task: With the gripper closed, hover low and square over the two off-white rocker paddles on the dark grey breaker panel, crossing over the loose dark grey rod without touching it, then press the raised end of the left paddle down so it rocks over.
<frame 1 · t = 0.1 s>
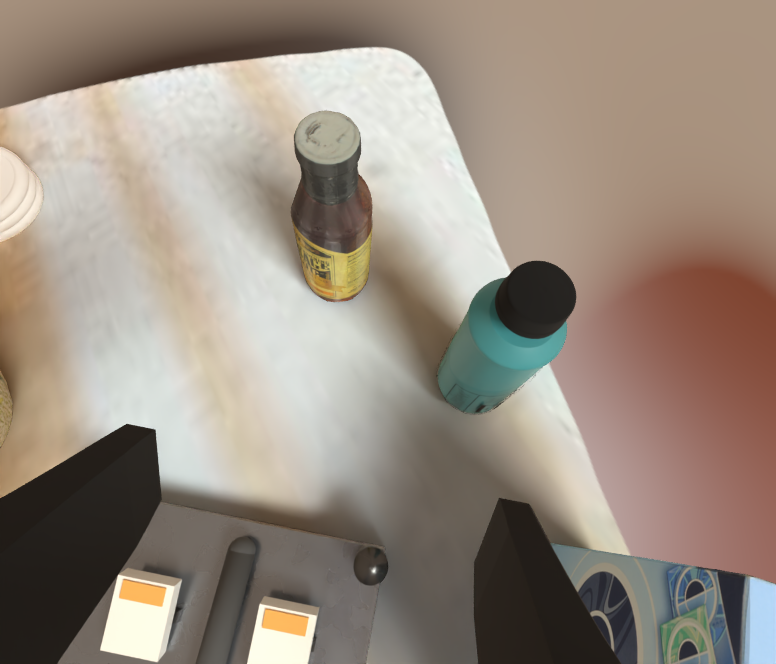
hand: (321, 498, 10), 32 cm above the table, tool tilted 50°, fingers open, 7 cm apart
sauce bottle: (338, 279, 47), on the table
paddle 2: (141, 614, 33), point 4 cm above the table, hinge at -15.0°
dark grey rod: (220, 641, 34), point 3 cm above the table, touching panel
beverage bottle: (467, 383, 44), on the table
panel: (227, 616, 37), on the table
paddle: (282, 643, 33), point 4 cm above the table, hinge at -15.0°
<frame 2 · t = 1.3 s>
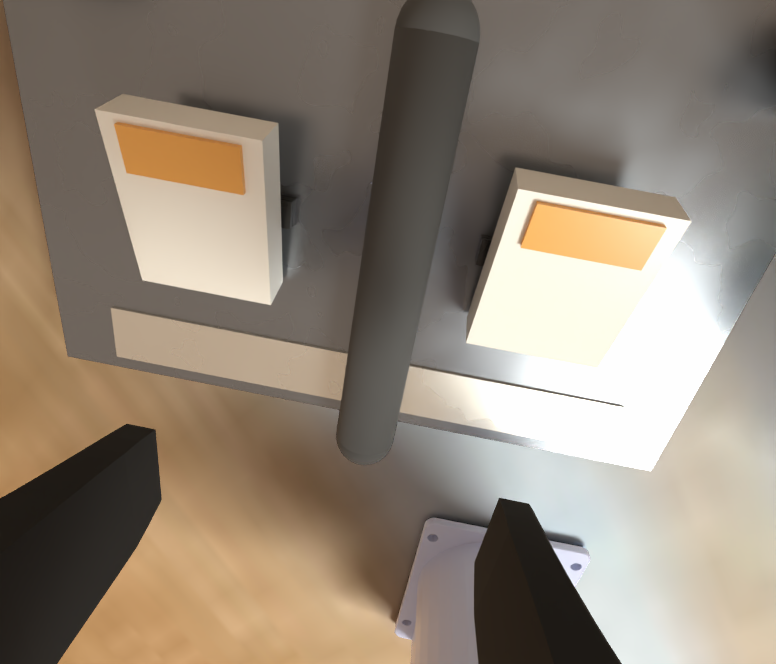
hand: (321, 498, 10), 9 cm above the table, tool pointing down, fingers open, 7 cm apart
paddle 2: (202, 210, 13), point 4 cm above the table, hinge at -15.0°
dark grey rod: (396, 264, 15), point 3 cm above the table, touching panel
panel: (393, 210, 17), on the table
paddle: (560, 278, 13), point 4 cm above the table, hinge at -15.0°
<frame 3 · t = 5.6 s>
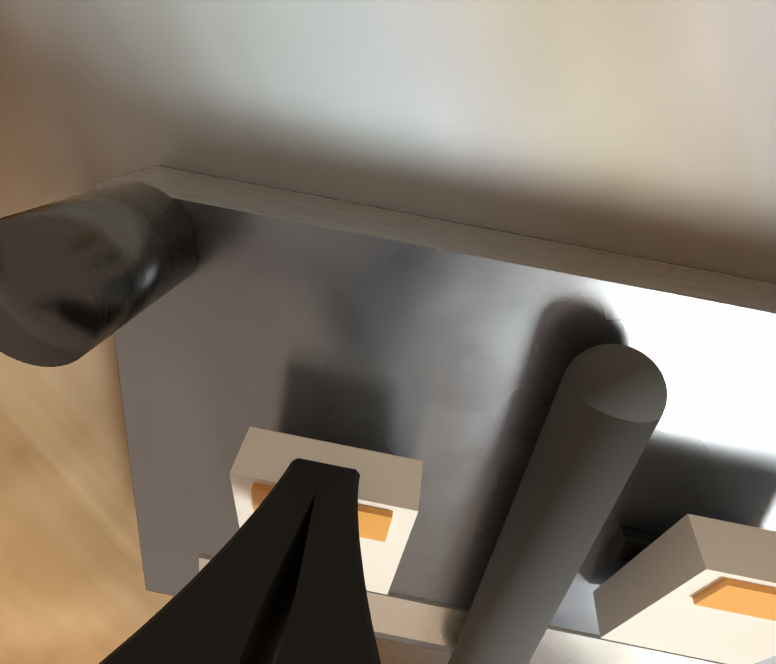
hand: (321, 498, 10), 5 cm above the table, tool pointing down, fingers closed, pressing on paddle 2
paddle 2: (324, 522, 12), point 4 cm above the table, hinge at -15.0°, touching gripper
dark grey rod: (521, 543, 14), point 3 cm above the table, touching panel
panel: (503, 452, 15), on the table
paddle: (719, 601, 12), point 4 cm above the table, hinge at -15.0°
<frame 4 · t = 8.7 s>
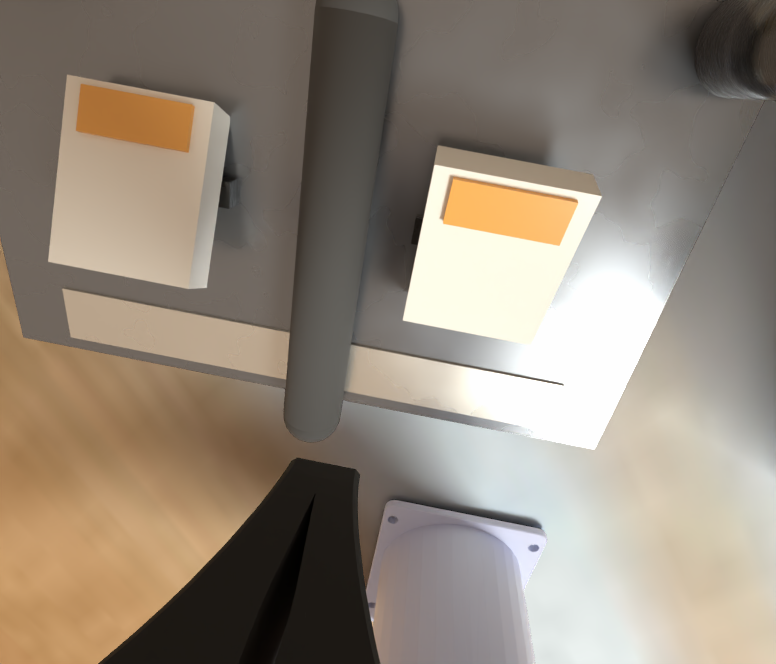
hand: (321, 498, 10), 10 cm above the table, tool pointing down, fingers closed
paddle 2: (139, 187, 13), point 4 cm above the table, hinge at 21.1°, touching panel
dark grey rod: (336, 244, 15), point 3 cm above the table, touching panel
panel: (340, 193, 17), on the table
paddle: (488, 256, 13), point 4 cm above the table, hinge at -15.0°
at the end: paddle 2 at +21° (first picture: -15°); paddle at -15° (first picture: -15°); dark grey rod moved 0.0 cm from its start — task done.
